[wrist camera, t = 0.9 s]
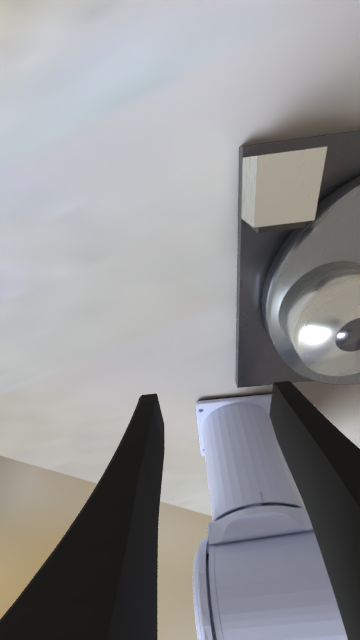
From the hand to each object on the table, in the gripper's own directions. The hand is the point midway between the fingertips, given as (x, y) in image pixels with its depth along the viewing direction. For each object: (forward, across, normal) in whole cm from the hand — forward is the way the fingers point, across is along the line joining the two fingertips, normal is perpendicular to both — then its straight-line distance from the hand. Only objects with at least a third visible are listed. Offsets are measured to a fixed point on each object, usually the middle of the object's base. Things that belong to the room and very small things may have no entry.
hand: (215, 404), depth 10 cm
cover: (+6, -8, 0) cm, 10 cm away
